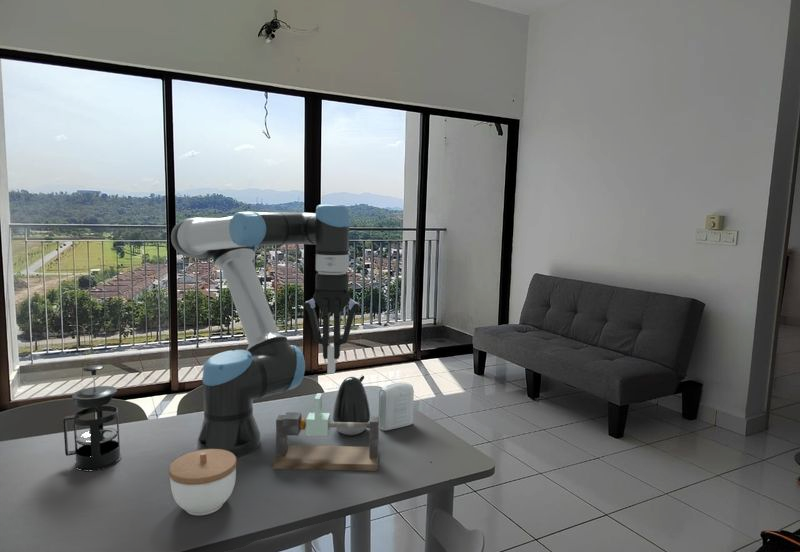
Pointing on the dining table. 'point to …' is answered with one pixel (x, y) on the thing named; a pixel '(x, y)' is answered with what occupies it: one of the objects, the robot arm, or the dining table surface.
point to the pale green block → (318, 420)
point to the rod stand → (324, 447)
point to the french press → (94, 427)
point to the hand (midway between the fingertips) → (331, 371)
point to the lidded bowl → (203, 480)
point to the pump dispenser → (351, 405)
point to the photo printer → (396, 406)
